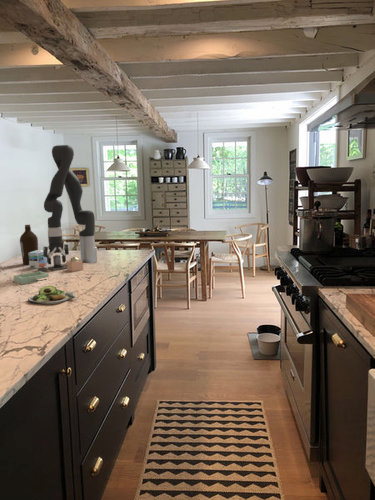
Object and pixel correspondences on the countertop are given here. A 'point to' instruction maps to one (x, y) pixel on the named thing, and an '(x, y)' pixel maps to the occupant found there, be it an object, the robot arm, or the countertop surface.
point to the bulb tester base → (50, 269)
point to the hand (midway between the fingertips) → (56, 263)
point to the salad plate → (51, 296)
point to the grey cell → (57, 261)
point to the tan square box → (74, 265)
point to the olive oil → (28, 244)
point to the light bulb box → (37, 259)
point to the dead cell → (74, 259)
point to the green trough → (26, 279)
